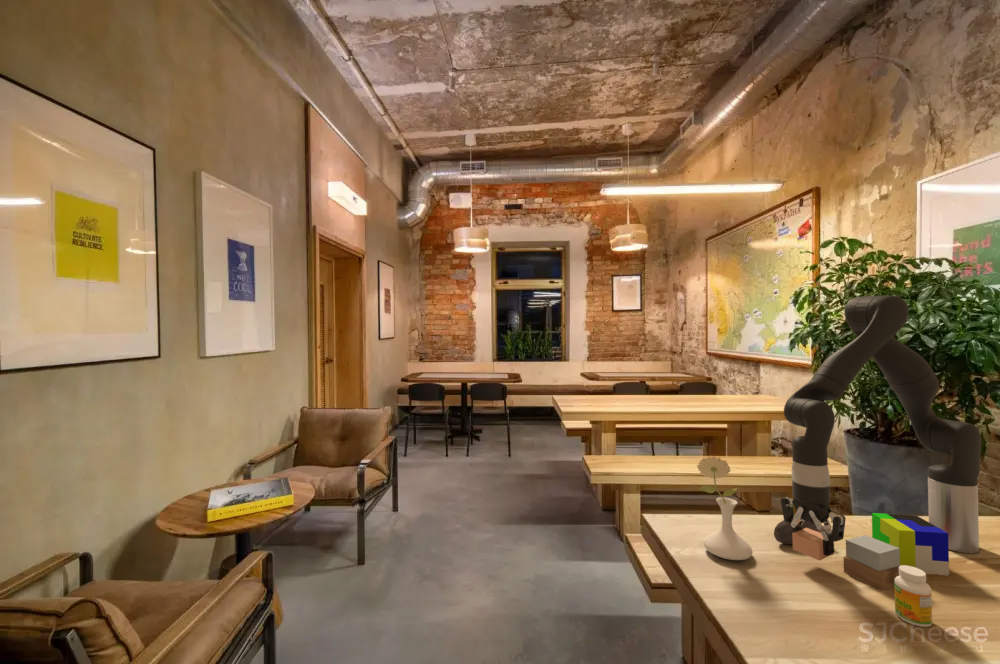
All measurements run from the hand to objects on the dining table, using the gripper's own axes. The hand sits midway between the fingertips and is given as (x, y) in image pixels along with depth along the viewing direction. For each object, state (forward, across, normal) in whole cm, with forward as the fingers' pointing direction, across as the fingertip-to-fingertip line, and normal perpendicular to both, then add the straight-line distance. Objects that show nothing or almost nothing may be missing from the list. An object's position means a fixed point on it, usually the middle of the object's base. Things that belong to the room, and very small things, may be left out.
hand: (812, 548), depth 106 cm
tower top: (+1, -8, -8) cm, 12 cm away
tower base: (+5, -8, -8) cm, 13 cm away
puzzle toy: (+6, -8, -24) cm, 25 cm away
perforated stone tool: (+5, +10, -9) cm, 15 cm away
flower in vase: (+5, +14, +14) cm, 20 cm away
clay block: (+1, 0, 0) cm, 1 cm away
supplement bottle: (+5, -20, +2) cm, 21 cm away
